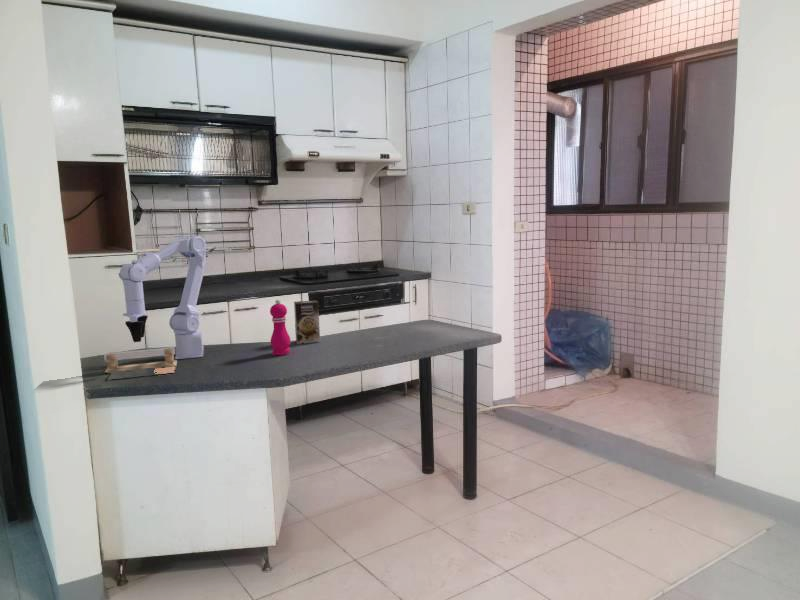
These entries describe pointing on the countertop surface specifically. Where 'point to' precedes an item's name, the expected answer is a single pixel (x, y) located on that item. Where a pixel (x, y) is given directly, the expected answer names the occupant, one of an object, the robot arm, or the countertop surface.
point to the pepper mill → (279, 330)
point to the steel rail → (140, 353)
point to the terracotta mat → (164, 370)
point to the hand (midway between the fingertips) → (138, 339)
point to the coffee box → (307, 322)
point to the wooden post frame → (113, 364)
